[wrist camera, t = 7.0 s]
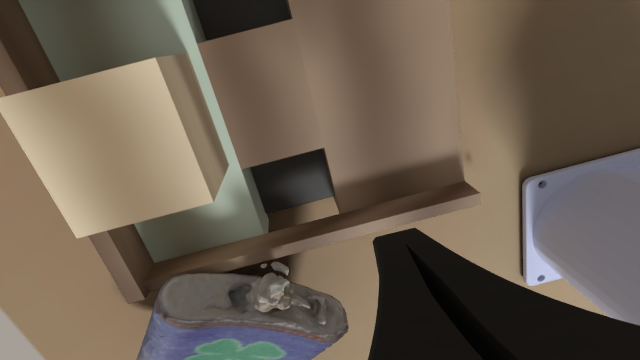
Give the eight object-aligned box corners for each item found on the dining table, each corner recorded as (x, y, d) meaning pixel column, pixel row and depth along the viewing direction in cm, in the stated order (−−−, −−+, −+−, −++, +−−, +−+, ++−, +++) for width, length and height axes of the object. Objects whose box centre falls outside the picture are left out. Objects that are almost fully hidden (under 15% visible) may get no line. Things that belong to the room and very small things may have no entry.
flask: (128, 386, 19) (156, 299, 12) (143, 332, 21) (174, 232, 14) (286, 392, 22) (375, 326, 16) (286, 345, 24) (364, 268, 18)
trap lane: (413, -123, 15) (464, -186, 11) (444, 174, 20) (486, 208, 16) (23, -22, 15) (-78, -47, 11) (159, 249, 20) (128, 303, 16)
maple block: (188, 52, 14) (155, 57, 10) (229, 165, 16) (213, 202, 12) (68, 84, 14) (-7, 100, 10) (123, 192, 16) (76, 238, 12)
